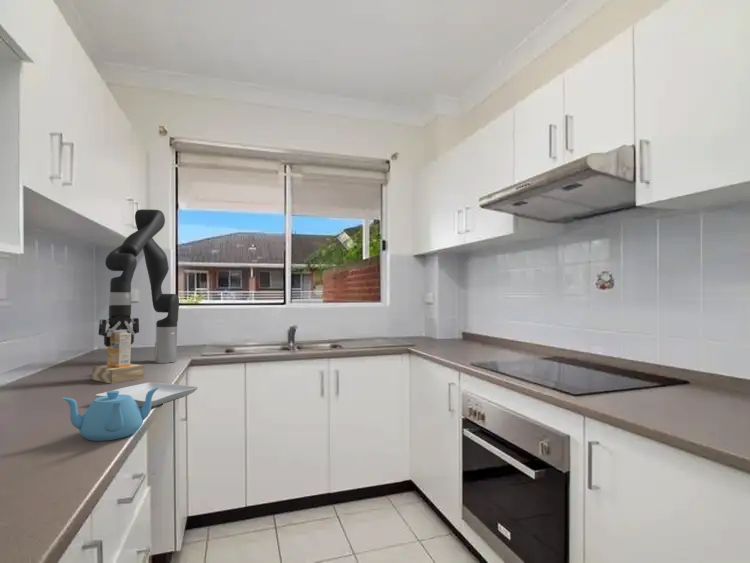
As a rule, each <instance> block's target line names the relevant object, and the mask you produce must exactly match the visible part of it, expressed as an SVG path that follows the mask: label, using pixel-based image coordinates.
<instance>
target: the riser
mask: <svg viewBox="0 0 750 563" xmlns="http://www.w3.org/2000/svg"><path fill="white" fill-rule="evenodd" d="M144 376H145V365H142V364H137V363H136V364H135V363H130V366H128V367H121V368H118V367H113V366H107V364H103V365H93V366H92V378H91V379H92V380H93V381H99V382H102V383H107V384H111V385H115V384H119V383H124V382H130V381H131V380H132V381H136V380H143V379H145V378H144Z"/></svg>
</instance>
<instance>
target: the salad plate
mask: <svg viewBox="0 0 750 563" xmlns="http://www.w3.org/2000/svg"><path fill="white" fill-rule="evenodd" d="M158 387H159V388H158ZM155 388H158V389H157V390H156V391H155V392H154V394H153V396H152V402H151V408H153V407H158V406H161V405H164V404H167V403H169V402H172V401H176V400H179V399H181V398H185V397H187V396H189V395H192V394H193V393H194V392H195V391H197V389H198V386H195V385H183V384H174V383H163V382H143V383H139V384H134V385H130V386H125V387H121V388H117V389H113V390H111V391H119V394H118V395H130V396H131V397H132V398H133V399H134V400H135V402H136V403H137V405H138V406H139V408H142V407H143V406H144V404H145V399H146V395H147V393H148V392H149V391H150V390H152V389H155ZM109 391H110V390H108V391H104V392H101V393H96V394H95V397H96V398H99V397H103V396H108V395H107V392H109Z"/></svg>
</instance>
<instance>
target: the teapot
mask: <svg viewBox="0 0 750 563" xmlns="http://www.w3.org/2000/svg"><path fill="white" fill-rule="evenodd" d="M158 388H159V387H158ZM158 388H155V389H152V390H150V391H149V392H148V393H147V395H146V399H145V404H144V406H143V407H139V406H138V405H137V403H136V402H135V400H134V399H133V398H132V397H131V396H130V395H118V394H119V391H112V390H108V391H109V392H108V391H106V392H107V395H108V396H103V397H99V398H97V397H96V398H95V399H93V401H92V402H91V403H90V404H89V406H88V408H87V409H86V410H85V412H84V413H83V415H81V414H80V413H79V411H78V404H77V403H78V402H77V401H76V400H75V399H74V398H70V397H61V398H62V399H63V400H65V402H66V403H67V404H68V406H69V411H70V412H69V413H70V414H69V415H70V416H69V418H70V422H71V424H72V426H73V427H75V428H76V429H78V430H79V433H80V434H81V435H82V437H84V438H85V439H86V440H88V441H96V442H100V441H101V442H102V441H112V440H113V441H114V440H118V439H122V438H127V437H129V436H132V435H133V434H135V433H137V431H138V430H139V429H140V428H141V427H142V426H143V423H144V421H145V420H146V419H147V418H148V416H149V415H150V413H151V411H152V407H151V402H152V396H153V394H154V392H155V391H156V390H157V389H158Z"/></svg>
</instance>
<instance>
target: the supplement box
mask: <svg viewBox="0 0 750 563" xmlns="http://www.w3.org/2000/svg"><path fill="white" fill-rule="evenodd" d="M109 337H111V338H110V347H107V352H106V356H107V358H106V365H107V366H113V367H118V368H121V367H128V366H130V364H131V354H132V353H131V346H132V344H131V333H127V332H121V331H114V332H113V333H112V334H111V335H110V336H109Z"/></svg>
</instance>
